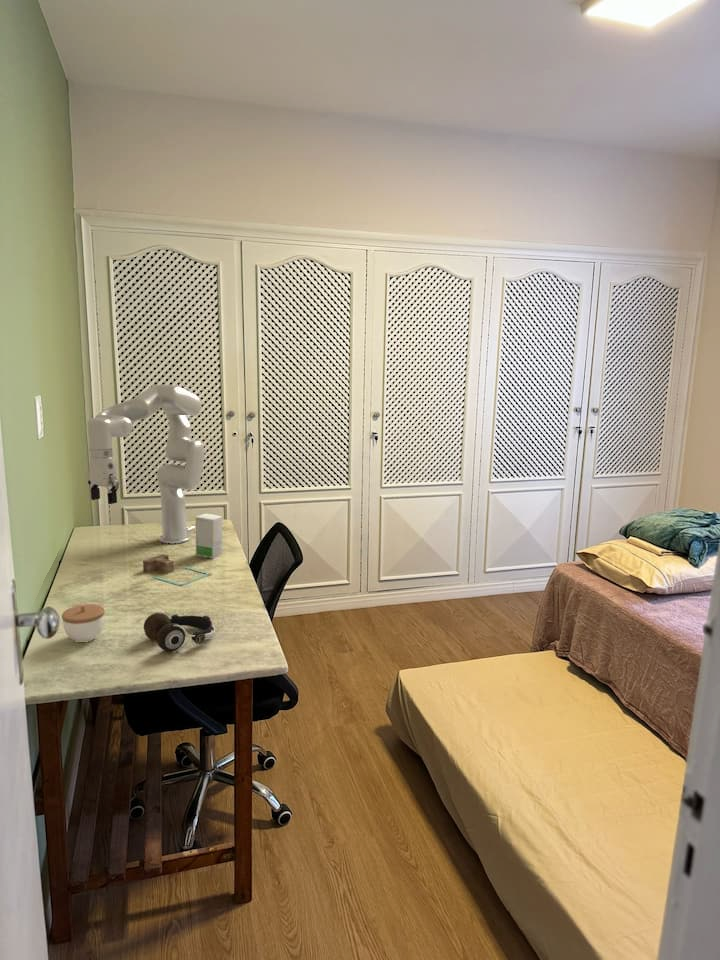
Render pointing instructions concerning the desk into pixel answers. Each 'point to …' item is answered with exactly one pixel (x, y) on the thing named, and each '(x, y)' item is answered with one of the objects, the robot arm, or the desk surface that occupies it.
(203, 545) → the skincare box
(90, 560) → the desk surface
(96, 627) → the lidded jar
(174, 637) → the headset
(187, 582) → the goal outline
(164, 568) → the tee block
